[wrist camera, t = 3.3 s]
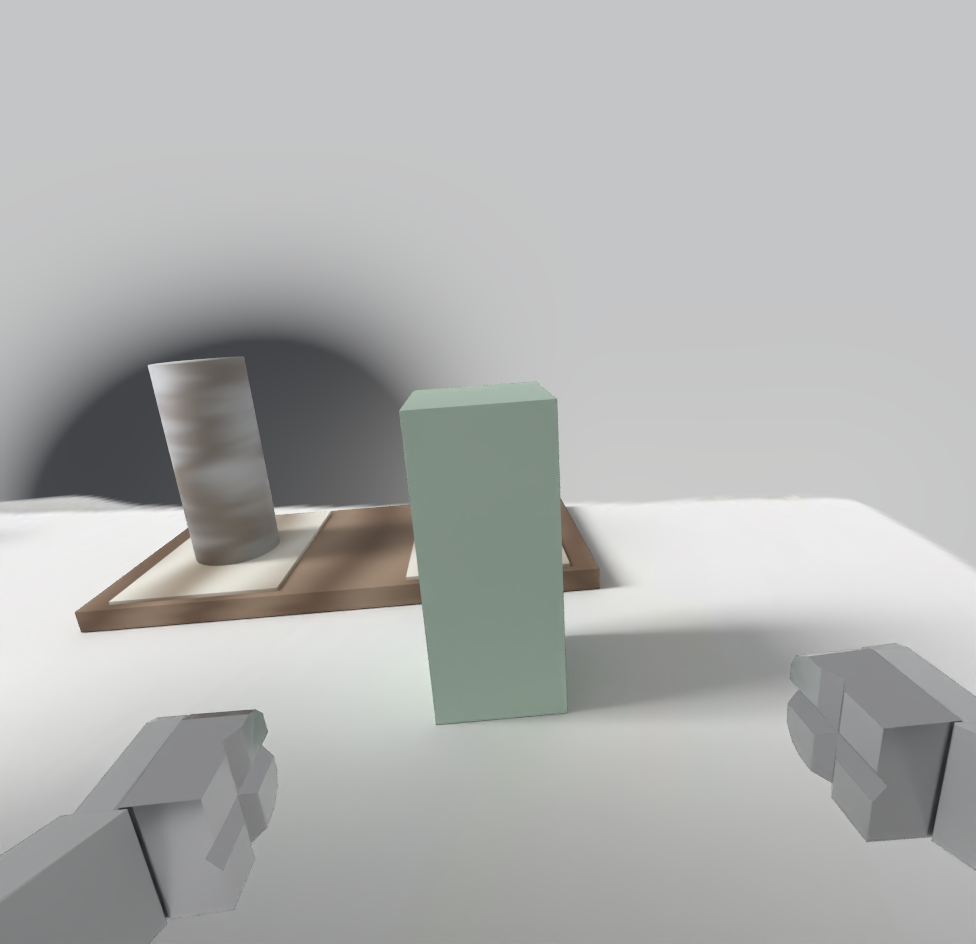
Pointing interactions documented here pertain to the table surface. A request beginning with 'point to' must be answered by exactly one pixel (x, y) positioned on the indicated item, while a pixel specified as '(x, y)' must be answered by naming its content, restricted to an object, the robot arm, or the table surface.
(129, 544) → the table surface
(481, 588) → the sage green tall pillar
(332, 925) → the table surface
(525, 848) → the table surface
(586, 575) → the board
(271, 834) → the table surface
